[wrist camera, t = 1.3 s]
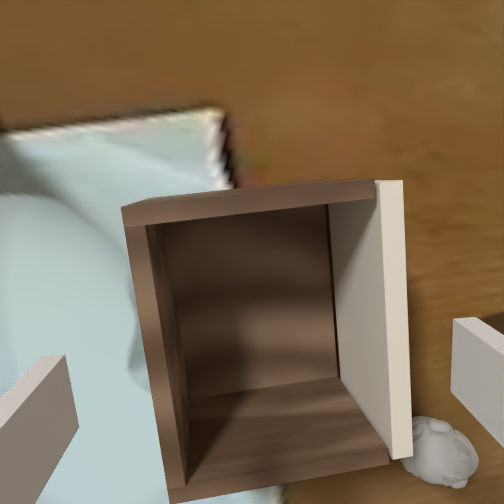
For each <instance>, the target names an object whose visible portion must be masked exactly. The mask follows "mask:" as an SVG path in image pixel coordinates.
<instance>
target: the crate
mask: <svg viewBox="0 0 504 504" xmlns="http://www.w3.org/2000/svg"><path fill="white" fill-rule="evenodd" d="M371 198H376V195H375V179H324V180H310V181H301V182H292V183H283V184H274V185H265V186H256V187H247V188H239V189H230V190H221V191H212V192H203V193H194V194H185V195H176V196H167V197H158V198H149V199H145V200H142V201H139V202H136V203H133V204H129V205H126V206H123V207H121V212H122V218H123V224H124V230H125V236H126V242H127V248H128V254H129V260H130V266H131V272H132V278H133V284H134V290H135V296H136V303H137V309H138V315H139V321H140V327H141V333H142V339H143V345H144V351H145V357H146V363H147V369H148V375H149V381H150V387H151V393H152V399H153V405H154V411H155V417H156V423H157V429H158V435H159V442H160V448H161V454H162V460H163V465H164V471H165V478H166V484H167V490H168V496H169V502H170V504H177V503H183V502H188V501H193V500H199V499H204V498H210V497H215V496H220V495H226V494H231V493H237V492H242V491H247V490H253V489H258V488H263V487H269V486H274V485H280V484H285V483H290V482H296V481H301V480H307V479H312V478H317V477H323V476H328V475H334V474H339V473H344V472H350V471H355V470H361V469H366V468H371V467H377V466H382V465H388V464H389V451H388V448H387V446H386V445H385V443H384V442H383V441H382V439H381V438H380V436H379V435H378V433H377V432H376V431H375V429H374V428H373V426H372V425H371V423H370V422H369V420H368V419H367V418H366V416H365V415H364V413H363V412H362V410H361V409H360V407H359V406H358V405H357V403H356V402H355V400H354V399H353V397H352V396H351V395H350V393H349V392H348V390H347V389H346V387H345V386H344V384H343V383H342V382H341V380H340V379H339V377H338V375H337V362H336V348H335V335H334V321H333V307H332V294H331V280H330V267H329V253H328V240H327V226H326V213H325V204H329V203H337V202H346V201H354V200H363V199H371Z"/></svg>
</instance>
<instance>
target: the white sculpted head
mask: <svg viewBox="0 0 504 504" xmlns="http://www.w3.org/2000/svg"><path fill="white" fill-rule="evenodd" d="M412 439H413V456H411V457H405V458H400V461H401V462H402V463H403V465H404V467H405V469H406V470H407V471H408V472H410V473H413V474H414V475H415V476H416V477H420V478H421V479H423V480H424V481H426V482H428V483H431V484H441V485H444V486H452V487H453V488H454V489H459V488H463V487H465V485H466V484H467V481H468V477H470V476H472V475H473V474H474V473H475V471H476V470H477V467H478V463H479V459H478V456H477V454H476V452H475V450H474V448H473V446H472V444H471V443H470V441H469V440H468V439H467V438H466V437H465V436H464V435H463V434H462V433H460V432H459V431H457V430H453V428H452V426H451V425H450V424H449V423H447V422H445V421H442V420H437V419H435V418H431V417H425V416H415V417H412Z"/></svg>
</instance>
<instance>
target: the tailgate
mask: <svg viewBox="0 0 504 504" xmlns="http://www.w3.org/2000/svg"><path fill="white" fill-rule="evenodd" d="M375 195H376V198H371V199H363V200H354V201H346V202H337V203H329V204H328V209H329V223H330V236H331V250H332V264H333V278H334V292H335V306H336V319H337V333H338V347H339V361H340V375H341V382H342V383H343V384H344V386H345V387H346V389H347V390H348V392H349V393H350V395H351V396H352V397H353V399H354V400H355V402H356V403H357V405H358V406H359V407H360V409H361V410H362V412H363V413H364V415H365V416H366V418H367V419H368V420H369V422H370V423H371V425H372V426H373V428H374V429H375V431H376V432H377V433H378V435H379V436H380V438H381V439H382V441H383V442H384V443H385V445H386V446H387V448H388V451H389V455H390V456H391V457H392V459H393V460H394V459H400V458H405V457H411V456H413V439H412V413H411V387H410V361H409V335H408V309H407V283H406V257H405V231H404V206H403V180H376V181H375Z"/></svg>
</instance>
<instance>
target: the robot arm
mask: <svg viewBox="0 0 504 504" xmlns="http://www.w3.org/2000/svg"><path fill="white" fill-rule="evenodd" d="M451 392H452V393H453V394H454V395H455V397H456V398H457V399H458V400H459V401H460V402H461V403H462V404H463V405H464V406H465V407H466V408H467V409H468V410H469V411H470V412H471V414H472V415H473V416H474V417H475V418H476V419H477V420H478V421H479V422H480V423H481V424H482V425H483V426H484V427H485V428H486V429H487V430H488V432H489V433H490V434H491V435H492V436H493V437H494V438H495V439H496V440H497V441H498V442H499V443H500V444H501V445H502V446H503V447H504V335H502V334H501V333H499V332H498V331H496V330H494V329H493V328H492V327H490V326H488V325H487V324H485V323H484V322H482V321H481V320H479V319H478V318H476V317H470V318H459V319H453V341H452V369H451ZM78 428H79V424H78V419H77V413H76V408H75V403H74V398H73V393H72V388H71V383H70V378H69V372H68V367H67V362H66V357H65V354H61V355H52V356H51V355H50V356H42V357H40V359H39V360H38V361H37V362H36V363H35V364H34V365H33V366H32V367H31V368H30V369H29V370H28V371H27V372H26V373H25V374H24V375H23V376H22V377H21V378H20V379H19V380H18V381H17V382H16V383H15V384H14V385H13V386H12V387H11V388H10V389H9V390H8V391H7V392H6V393H5V394H4V395H3V396H2V397H1V398H0V504H35V502H36V501H37V499H38V497H39V495H40V494H41V492H42V490H43V489H44V487H45V485H46V483H47V482H48V480H49V478H50V477H51V475H52V473H53V471H54V469H55V468H56V466H57V464H58V463H59V461H60V459H61V457H62V456H63V454H64V452H65V451H66V449H67V447H68V445H69V444H70V442H71V440H72V438H73V437H74V435H75V433H76V432H77V430H78Z"/></svg>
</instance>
